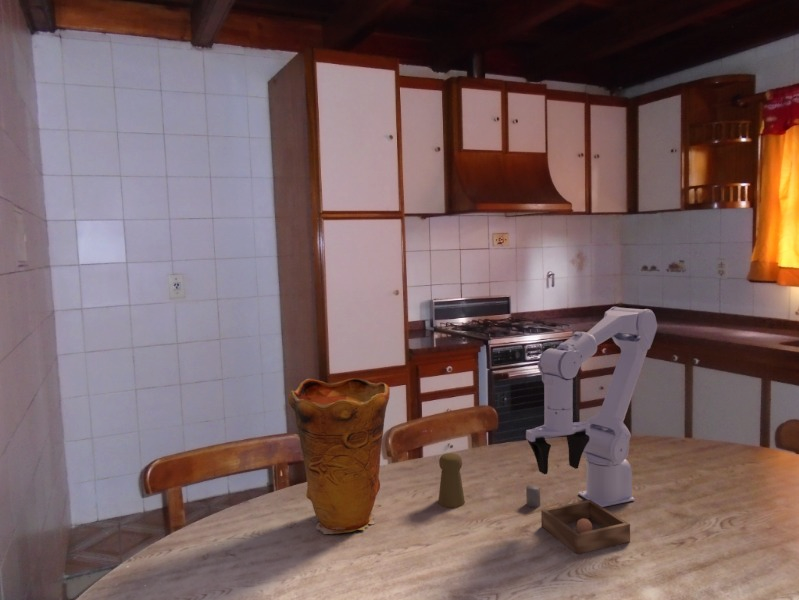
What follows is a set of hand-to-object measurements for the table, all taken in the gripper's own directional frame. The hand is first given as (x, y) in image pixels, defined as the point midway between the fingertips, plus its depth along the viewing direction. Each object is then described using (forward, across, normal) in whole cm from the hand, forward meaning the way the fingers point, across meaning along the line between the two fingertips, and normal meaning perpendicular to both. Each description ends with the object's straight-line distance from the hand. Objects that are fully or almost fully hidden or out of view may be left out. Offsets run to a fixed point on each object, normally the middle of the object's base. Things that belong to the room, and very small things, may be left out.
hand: (558, 469), depth 125 cm
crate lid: (+11, +2, -7) cm, 13 cm away
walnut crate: (+10, 0, +8) cm, 13 cm away
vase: (+11, +42, -15) cm, 46 cm away
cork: (+10, +18, -16) cm, 26 cm away
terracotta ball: (+10, 0, +8) cm, 13 cm away
